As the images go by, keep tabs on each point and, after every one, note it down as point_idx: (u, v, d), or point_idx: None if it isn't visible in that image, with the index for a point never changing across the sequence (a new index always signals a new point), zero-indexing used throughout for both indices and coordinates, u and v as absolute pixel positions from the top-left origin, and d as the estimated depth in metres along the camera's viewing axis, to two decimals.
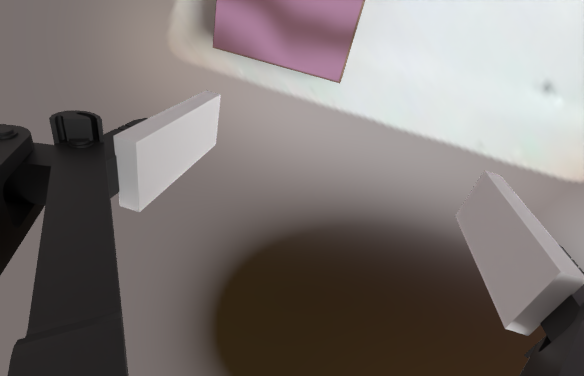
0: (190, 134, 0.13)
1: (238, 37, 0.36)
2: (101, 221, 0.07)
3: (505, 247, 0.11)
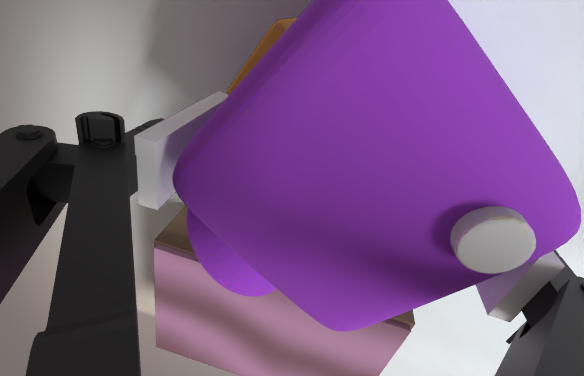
0: None
1: (193, 347, 0.23)
2: (120, 220, 0.07)
3: None
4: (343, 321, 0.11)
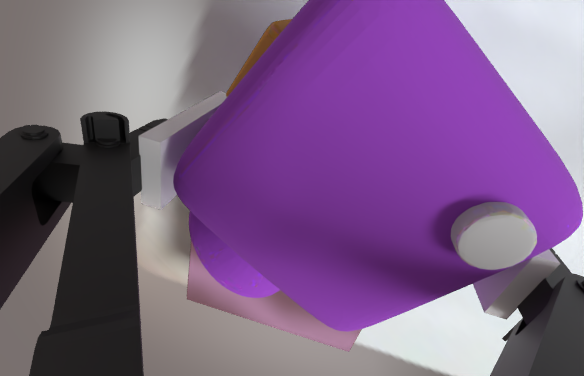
0: None
1: (219, 296, 0.28)
2: (124, 219, 0.07)
3: None
4: (346, 320, 0.11)
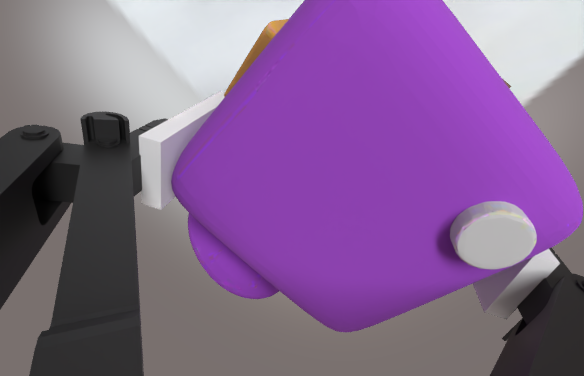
0: None
1: None
2: (124, 219, 0.07)
3: None
4: (345, 321, 0.11)
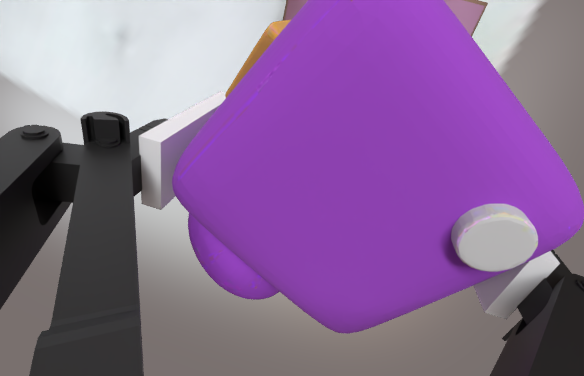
0: None
1: None
2: (125, 220, 0.07)
3: None
4: (346, 323, 0.11)
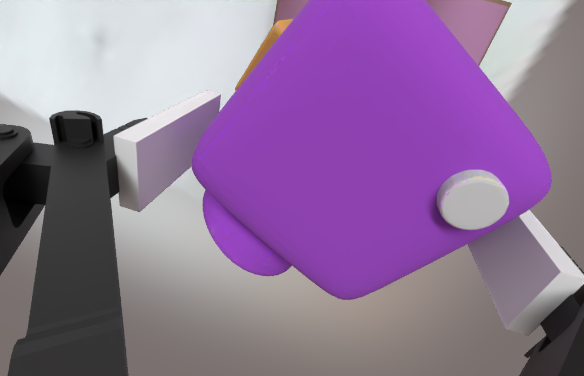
0: (190, 134, 0.13)
1: None
2: (101, 221, 0.07)
3: (505, 247, 0.11)
4: (348, 287, 0.12)
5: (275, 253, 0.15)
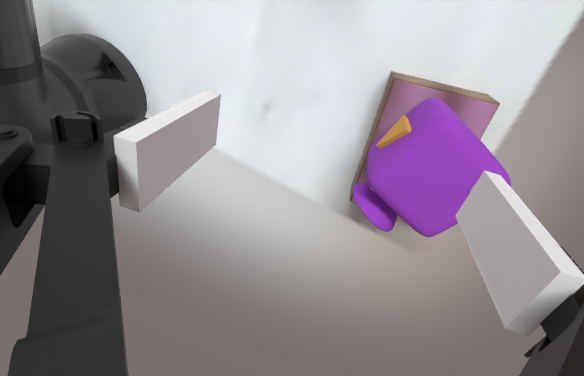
0: (190, 134, 0.13)
1: None
2: (101, 221, 0.07)
3: (505, 247, 0.11)
4: (432, 229, 0.29)
5: (390, 220, 0.32)
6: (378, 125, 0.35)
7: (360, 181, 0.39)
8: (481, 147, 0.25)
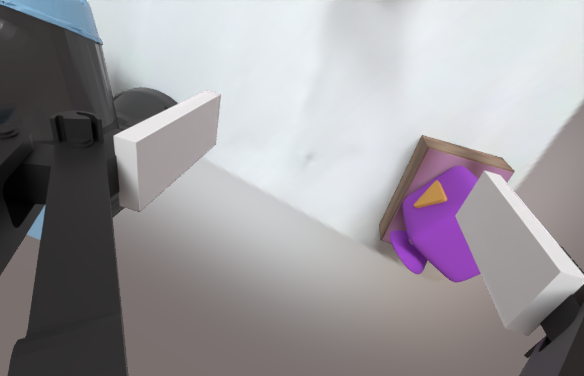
0: (190, 134, 0.13)
1: None
2: (101, 221, 0.07)
3: (505, 247, 0.11)
4: (460, 277, 0.36)
5: (422, 265, 0.39)
6: (411, 182, 0.41)
7: (391, 225, 0.45)
8: None
